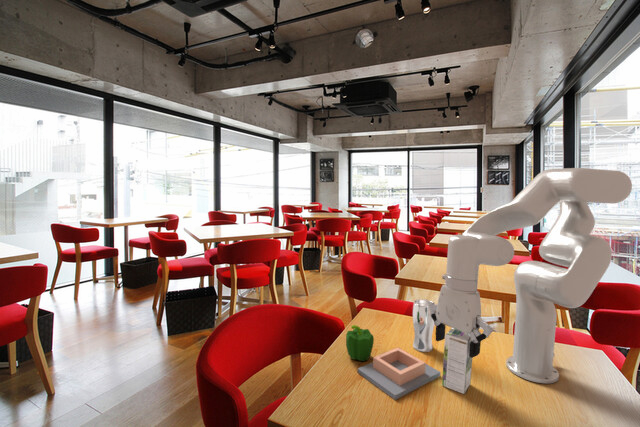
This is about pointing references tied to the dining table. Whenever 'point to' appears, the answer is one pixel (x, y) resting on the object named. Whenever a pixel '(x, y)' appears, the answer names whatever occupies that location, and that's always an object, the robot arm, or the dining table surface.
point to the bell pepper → (359, 343)
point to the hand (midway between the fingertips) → (456, 347)
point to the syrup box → (457, 361)
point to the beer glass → (423, 325)
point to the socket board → (398, 372)
